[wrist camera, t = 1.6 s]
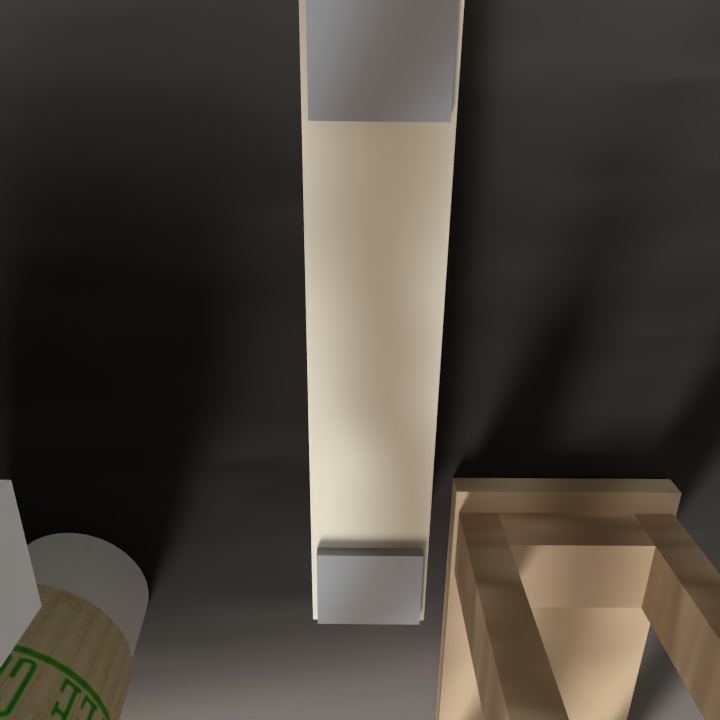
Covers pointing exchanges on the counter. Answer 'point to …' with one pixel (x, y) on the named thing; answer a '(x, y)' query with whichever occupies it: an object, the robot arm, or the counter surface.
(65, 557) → the coffee cup
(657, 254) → the counter surface
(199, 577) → the counter surface
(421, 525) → the rail
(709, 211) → the counter surface
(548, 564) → the wooden stand
